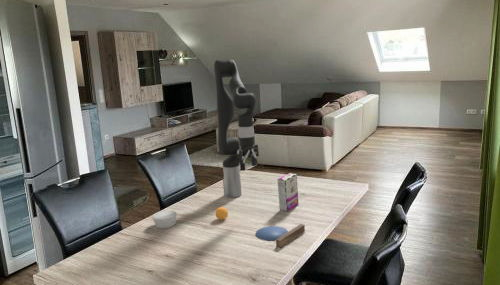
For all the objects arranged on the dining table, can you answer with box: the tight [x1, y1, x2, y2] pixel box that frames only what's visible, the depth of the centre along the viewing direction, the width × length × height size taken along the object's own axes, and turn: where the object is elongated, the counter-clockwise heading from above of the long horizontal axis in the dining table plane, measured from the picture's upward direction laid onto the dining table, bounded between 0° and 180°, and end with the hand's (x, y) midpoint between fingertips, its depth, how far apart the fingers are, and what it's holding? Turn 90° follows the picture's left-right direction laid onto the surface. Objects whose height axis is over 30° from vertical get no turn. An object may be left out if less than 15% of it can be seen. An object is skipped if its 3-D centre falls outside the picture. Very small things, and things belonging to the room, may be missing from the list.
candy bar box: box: [277, 172, 300, 212], centre depth 197 cm, size 11×5×16 cm, turn 143°
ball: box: [214, 206, 228, 221], centre depth 188 cm, size 6×6×6 cm
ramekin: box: [152, 209, 177, 229], centre depth 186 cm, size 11×11×5 cm
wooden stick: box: [275, 223, 306, 249], centre depth 163 cm, size 2×18×3 cm, turn 140°
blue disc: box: [255, 225, 289, 242], centre depth 170 cm, size 14×14×1 cm
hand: (248, 168), depth 190 cm, fingers open, 8 cm apart
